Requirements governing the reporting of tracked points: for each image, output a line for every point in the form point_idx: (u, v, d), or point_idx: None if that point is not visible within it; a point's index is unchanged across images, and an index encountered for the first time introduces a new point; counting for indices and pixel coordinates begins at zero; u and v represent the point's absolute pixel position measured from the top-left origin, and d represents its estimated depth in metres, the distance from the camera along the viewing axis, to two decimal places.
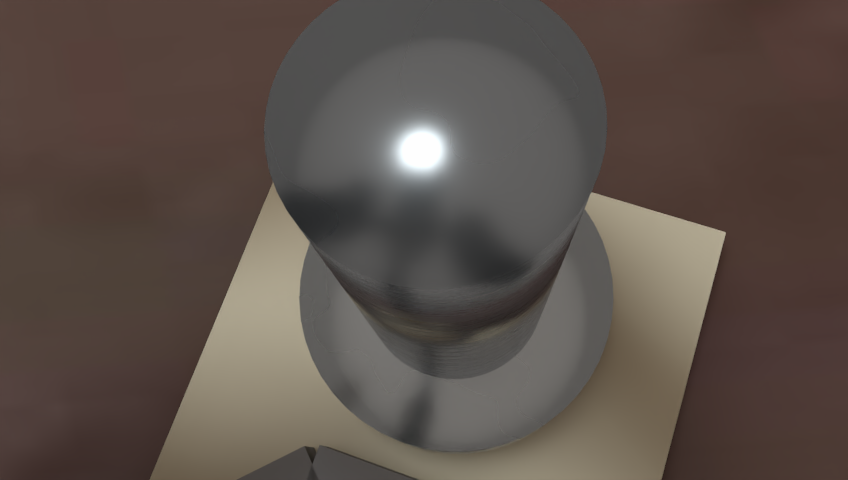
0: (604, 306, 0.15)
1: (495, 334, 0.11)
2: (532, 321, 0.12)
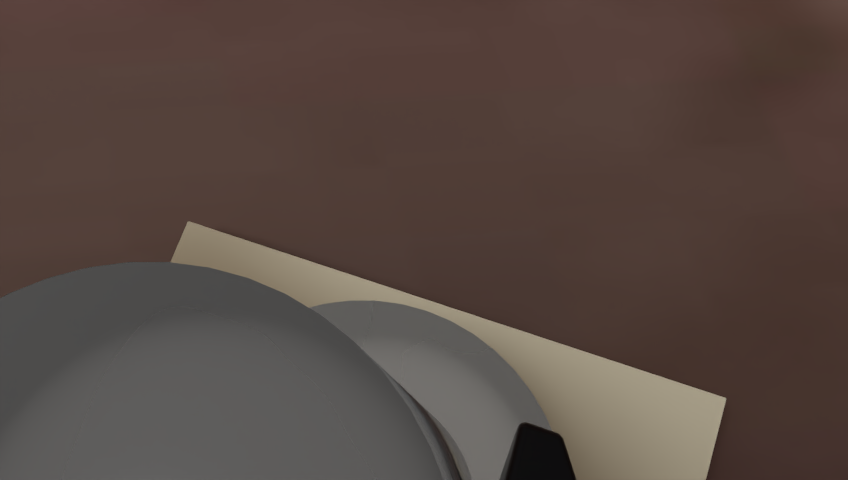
0: None
1: None
2: None
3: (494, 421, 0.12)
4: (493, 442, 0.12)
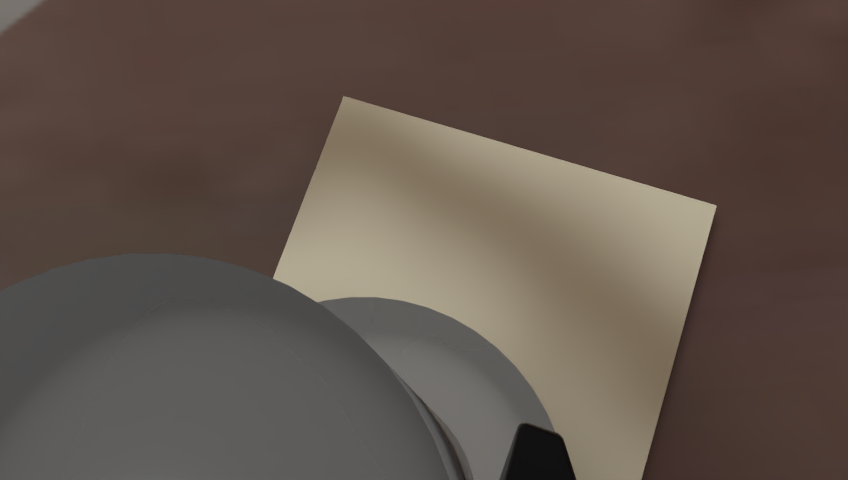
0: None
1: None
2: None
3: (496, 418, 0.12)
4: (494, 438, 0.12)
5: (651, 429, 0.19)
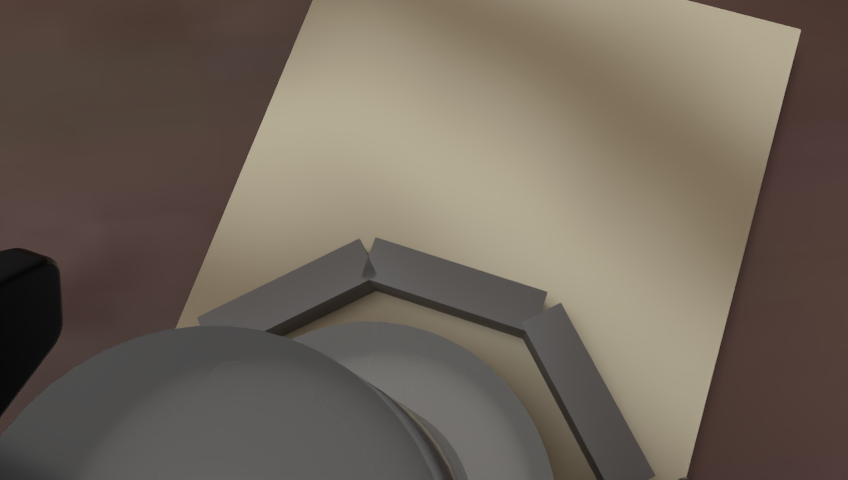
0: None
1: None
2: None
3: (490, 431, 0.13)
4: (488, 450, 0.13)
5: (729, 289, 0.15)
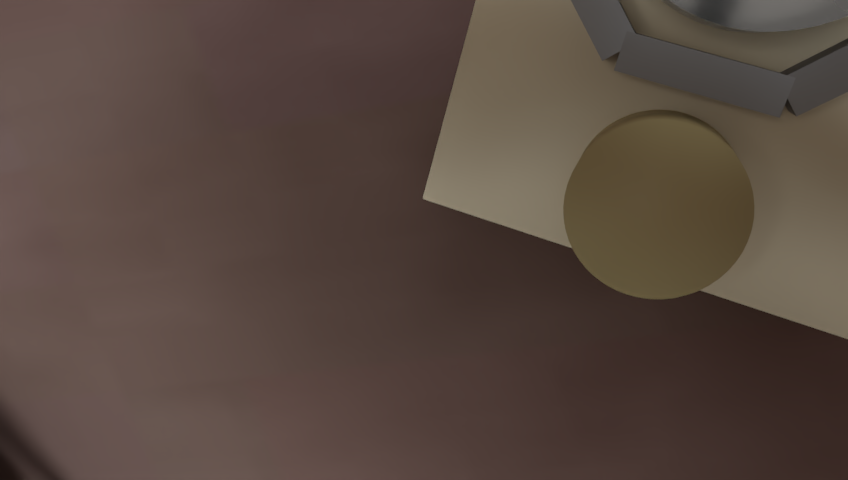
0: None
1: None
2: None
3: None
4: None
5: None
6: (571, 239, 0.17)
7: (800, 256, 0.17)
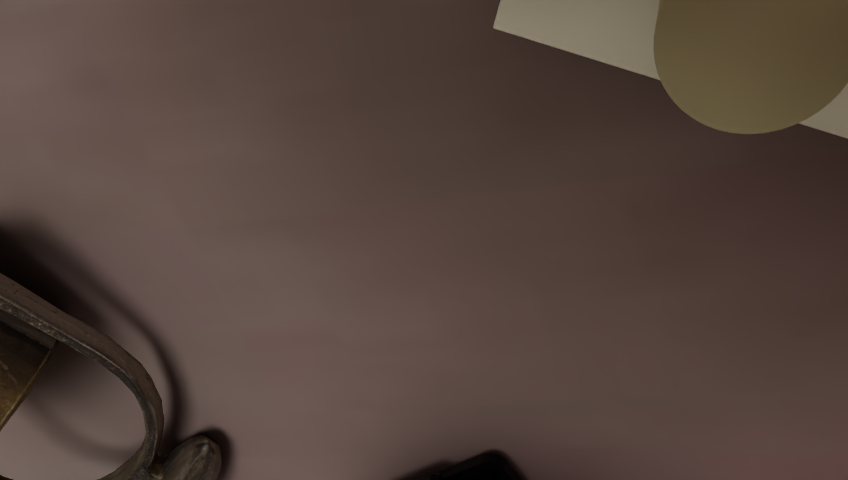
0: None
1: None
2: None
3: None
4: None
5: None
6: (660, 72, 0.16)
7: None
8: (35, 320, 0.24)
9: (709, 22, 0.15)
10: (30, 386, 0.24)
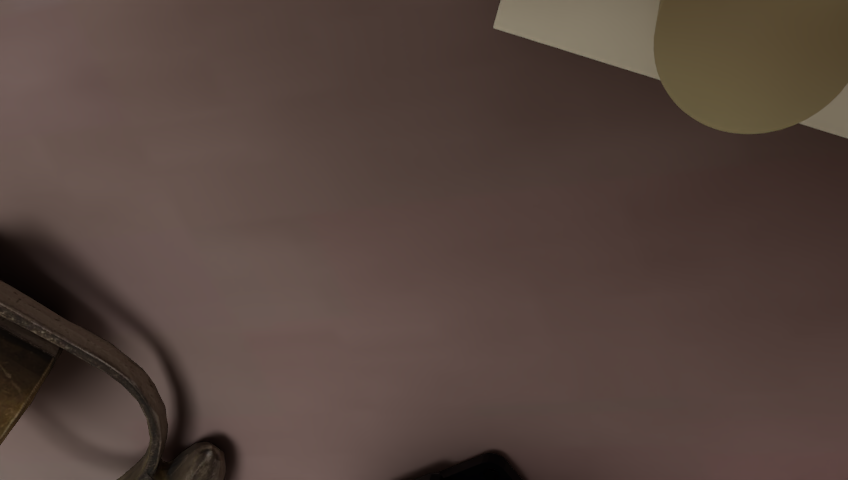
0: None
1: None
2: None
3: None
4: None
5: None
6: (660, 72, 0.16)
7: None
8: (38, 328, 0.24)
9: (709, 22, 0.15)
10: (34, 394, 0.24)
